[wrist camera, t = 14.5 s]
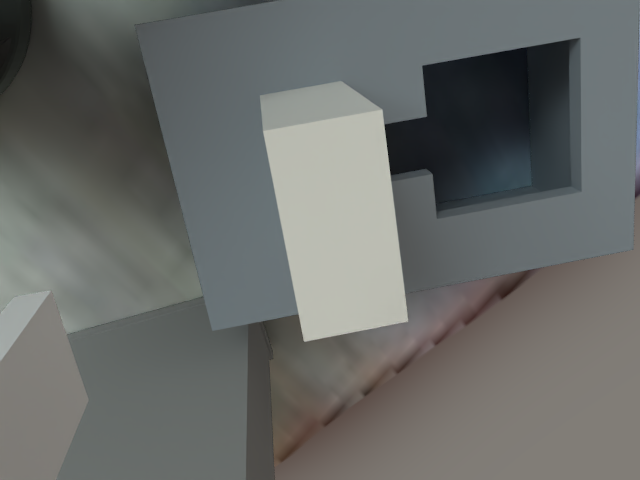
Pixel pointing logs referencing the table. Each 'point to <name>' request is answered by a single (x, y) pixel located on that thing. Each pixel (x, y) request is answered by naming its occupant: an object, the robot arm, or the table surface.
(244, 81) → the keyhole box
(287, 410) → the table surface
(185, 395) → the cassette tape recorder
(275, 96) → the peg
